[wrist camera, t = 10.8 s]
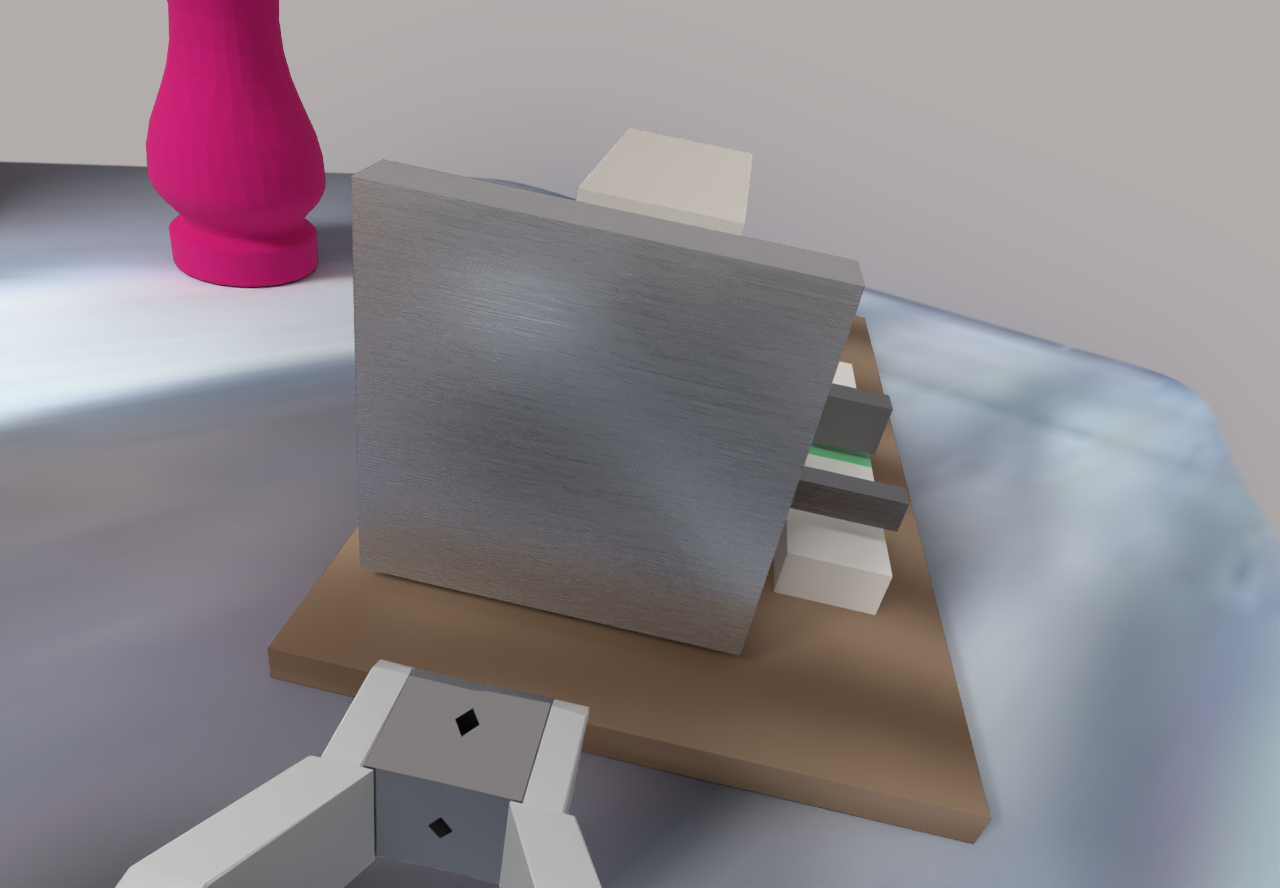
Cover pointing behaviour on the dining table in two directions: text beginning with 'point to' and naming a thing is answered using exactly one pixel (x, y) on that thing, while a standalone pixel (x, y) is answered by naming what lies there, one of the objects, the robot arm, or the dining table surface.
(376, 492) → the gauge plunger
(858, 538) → the gauge scale
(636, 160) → the block
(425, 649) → the board
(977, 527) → the dining table surface
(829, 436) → the block
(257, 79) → the pepper mill
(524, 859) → the robot arm
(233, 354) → the dining table surface
